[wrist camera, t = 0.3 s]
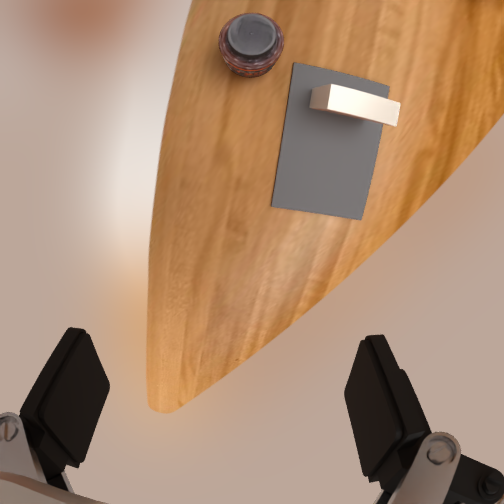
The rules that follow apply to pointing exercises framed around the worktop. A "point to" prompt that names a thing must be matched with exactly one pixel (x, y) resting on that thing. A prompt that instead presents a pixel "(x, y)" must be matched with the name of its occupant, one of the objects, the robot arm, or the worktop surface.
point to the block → (355, 104)
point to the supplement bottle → (251, 44)
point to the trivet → (325, 149)
